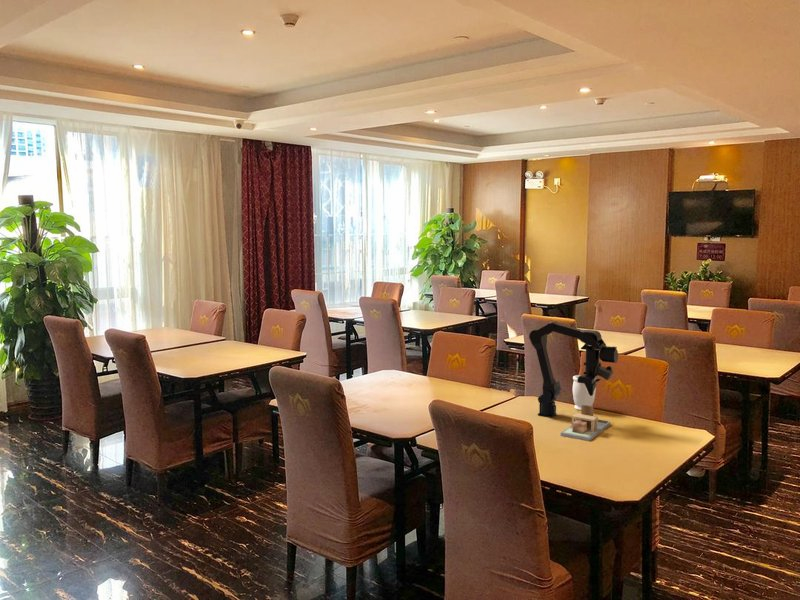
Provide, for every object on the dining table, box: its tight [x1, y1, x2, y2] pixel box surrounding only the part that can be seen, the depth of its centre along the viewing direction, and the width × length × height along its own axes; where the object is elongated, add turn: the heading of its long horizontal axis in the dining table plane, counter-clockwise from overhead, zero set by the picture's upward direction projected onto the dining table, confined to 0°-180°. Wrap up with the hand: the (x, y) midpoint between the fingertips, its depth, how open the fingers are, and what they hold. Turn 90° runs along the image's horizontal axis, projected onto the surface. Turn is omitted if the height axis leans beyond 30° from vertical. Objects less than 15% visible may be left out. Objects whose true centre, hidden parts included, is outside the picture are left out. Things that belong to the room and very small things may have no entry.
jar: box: [572, 374, 597, 411], centre depth 302 cm, size 11×10×15 cm
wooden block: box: [572, 405, 595, 434], centre depth 268 cm, size 5×11×9 cm, turn 144°
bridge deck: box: [560, 412, 611, 442], centre depth 272 cm, size 12×26×6 cm, turn 144°
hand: (591, 395), depth 281 cm, fingers closed
